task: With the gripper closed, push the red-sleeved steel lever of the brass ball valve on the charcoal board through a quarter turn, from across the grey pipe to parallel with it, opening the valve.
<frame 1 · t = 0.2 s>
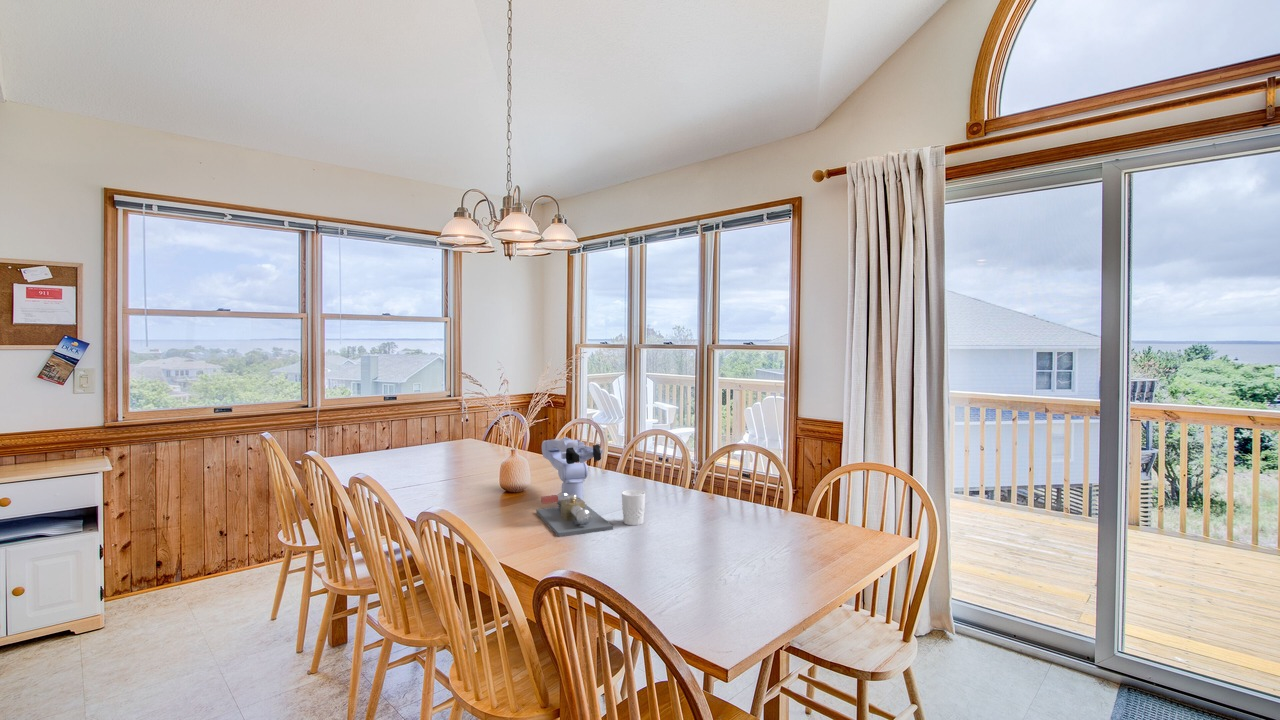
hand: (589, 457, 195), 21 cm above the table, tool horizontal, fingers open, 7 cm apart
valve lever: (559, 498, 192), point 8 cm above the table, hinge at 0.0°
valve body: (572, 508, 194), on the mounting board, point 4 cm above the table
white cup: (633, 523, 193), on the table
mounting board: (572, 520, 195), on the table
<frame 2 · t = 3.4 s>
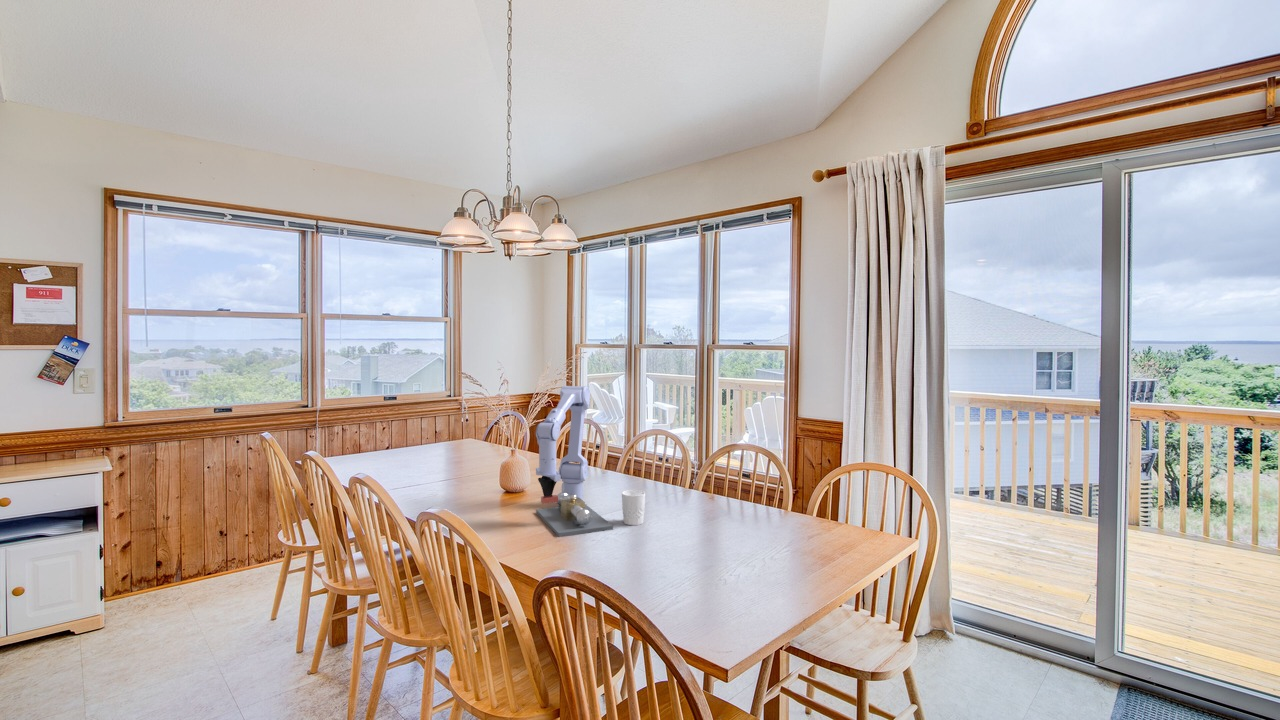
hand: (547, 498, 193), 8 cm above the table, tool pointing down, fingers closed, pressing on valve lever
valve lever: (559, 498, 192), point 8 cm above the table, hinge at 0.1°, touching gripper
everything else where it was.
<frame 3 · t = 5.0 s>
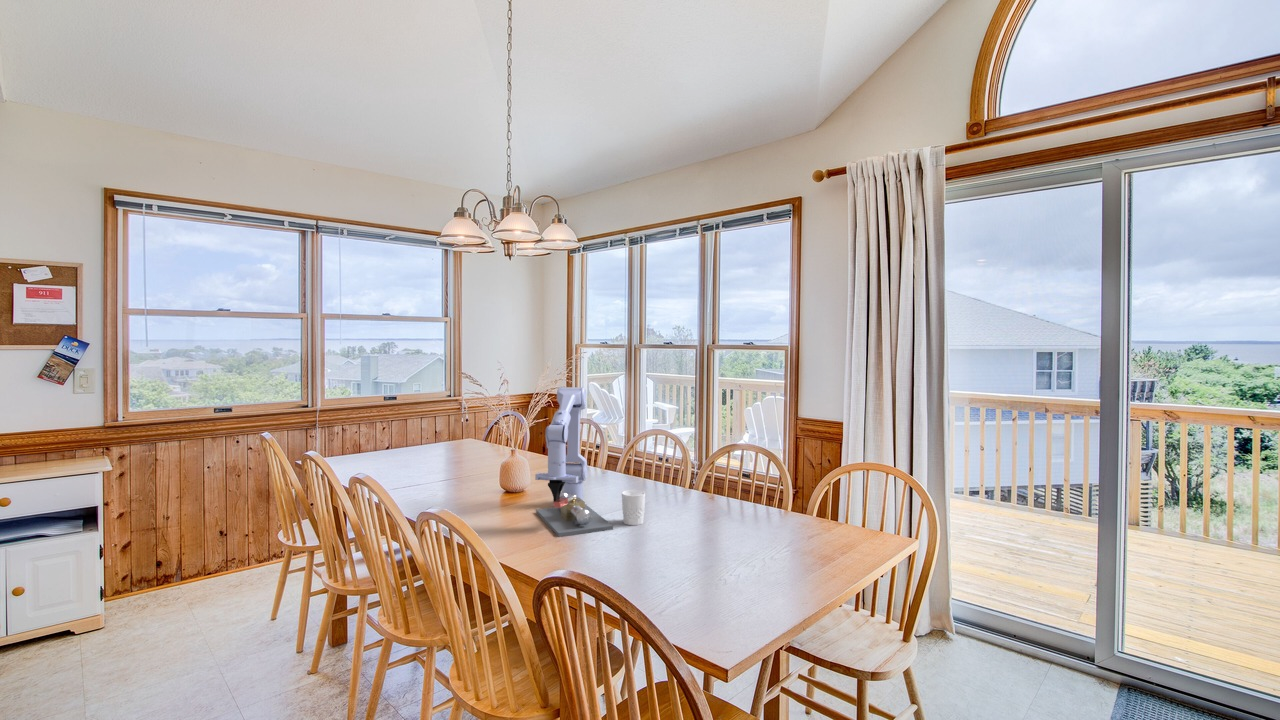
hand: (556, 503, 188), 8 cm above the table, tool pointing down, fingers closed, pressing on valve lever
valve lever: (565, 500, 190), point 8 cm above the table, hinge at 44.1°, touching gripper
everything else where it was.
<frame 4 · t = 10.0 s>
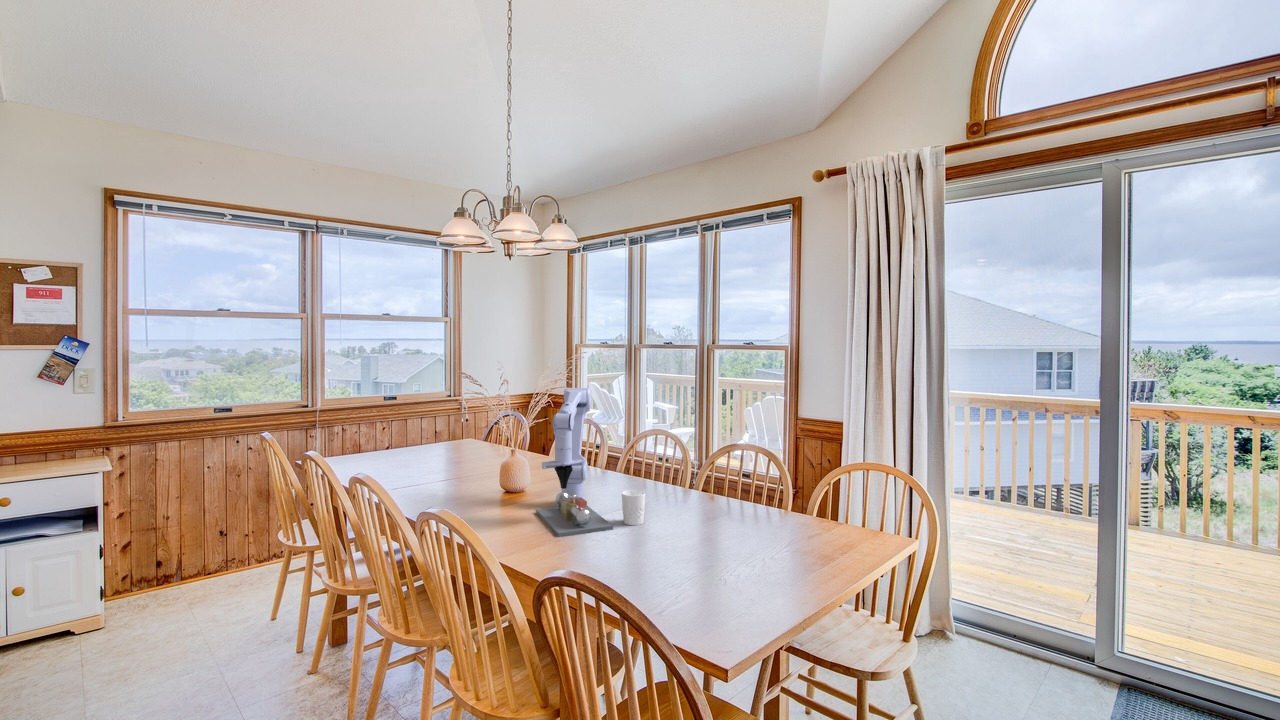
hand: (563, 488, 197), 10 cm above the table, tool pointing down, fingers closed
valve lever: (577, 499, 190), point 8 cm above the table, hinge at 91.5°
everything else where it was.
at the end: valve lever at +92° (first picture: +0°) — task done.
